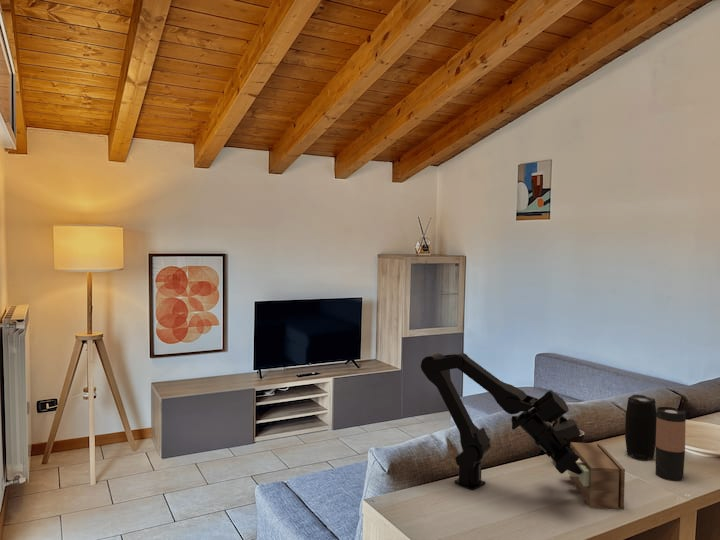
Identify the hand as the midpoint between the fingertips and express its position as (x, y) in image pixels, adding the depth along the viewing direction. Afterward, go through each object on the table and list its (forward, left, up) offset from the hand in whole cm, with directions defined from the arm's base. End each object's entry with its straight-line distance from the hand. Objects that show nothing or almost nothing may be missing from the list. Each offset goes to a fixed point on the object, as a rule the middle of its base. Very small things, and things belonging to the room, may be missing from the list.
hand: (580, 473), depth 144 cm
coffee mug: (+23, +16, -8) cm, 29 cm away
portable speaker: (+47, +2, -8) cm, 47 cm away
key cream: (+6, +3, -3) cm, 7 cm away
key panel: (+8, 0, -8) cm, 11 cm away
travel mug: (+37, -10, -8) cm, 39 cm away
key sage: (+2, -2, -3) cm, 4 cm away
